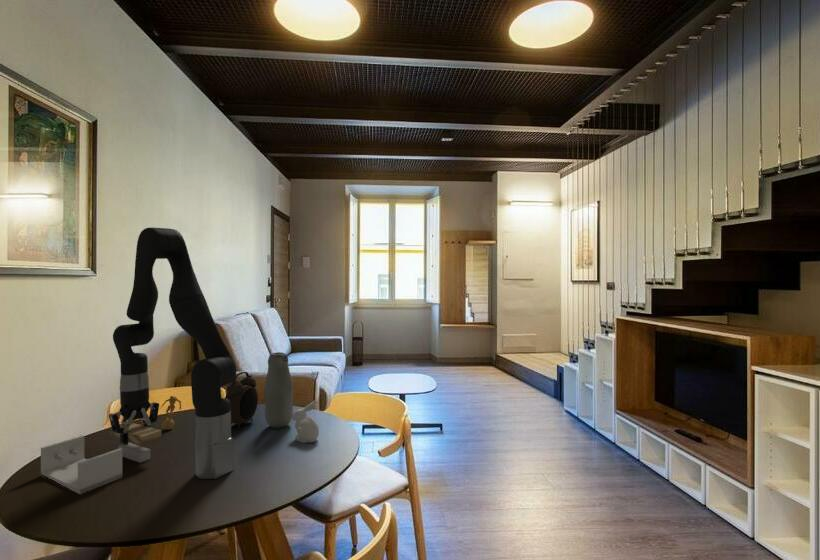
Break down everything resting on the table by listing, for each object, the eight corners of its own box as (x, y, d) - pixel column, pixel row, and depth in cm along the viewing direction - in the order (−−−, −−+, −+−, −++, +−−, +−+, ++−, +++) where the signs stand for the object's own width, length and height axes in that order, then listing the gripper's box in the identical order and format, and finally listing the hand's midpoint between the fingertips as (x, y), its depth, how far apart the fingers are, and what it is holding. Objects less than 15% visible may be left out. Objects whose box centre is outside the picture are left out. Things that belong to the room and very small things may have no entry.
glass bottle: (295, 421, 157) (295, 350, 157) (288, 431, 147) (288, 355, 147) (269, 421, 157) (269, 350, 157) (261, 431, 147) (260, 355, 147)
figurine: (153, 430, 148) (153, 398, 148) (165, 425, 154) (165, 393, 154) (174, 431, 147) (174, 399, 147) (185, 426, 153) (185, 394, 153)
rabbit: (289, 436, 142) (289, 403, 142) (314, 430, 148) (313, 397, 148) (304, 447, 132) (304, 411, 132) (329, 440, 138) (329, 405, 138)
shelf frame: (122, 477, 113) (122, 449, 113) (80, 494, 104) (80, 463, 104) (82, 461, 123) (82, 435, 123) (40, 475, 114) (40, 447, 114)
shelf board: (161, 438, 124) (161, 430, 124) (142, 445, 119) (142, 436, 119) (129, 429, 133) (128, 421, 133) (110, 435, 128) (110, 427, 128)
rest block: (150, 458, 125) (150, 449, 125) (140, 462, 122) (140, 453, 122) (128, 451, 130) (128, 442, 130) (118, 455, 127) (118, 445, 127)
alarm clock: (238, 432, 146) (238, 377, 146) (221, 431, 147) (221, 376, 147) (261, 418, 160) (261, 368, 160) (245, 417, 162) (245, 368, 162)
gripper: (115, 394, 118) (116, 451, 118) (164, 383, 131) (165, 434, 131) (102, 391, 121) (103, 447, 121) (151, 380, 134) (152, 431, 134)
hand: (135, 440), depth 126 cm, fingers closed on shelf board, 5 cm apart
